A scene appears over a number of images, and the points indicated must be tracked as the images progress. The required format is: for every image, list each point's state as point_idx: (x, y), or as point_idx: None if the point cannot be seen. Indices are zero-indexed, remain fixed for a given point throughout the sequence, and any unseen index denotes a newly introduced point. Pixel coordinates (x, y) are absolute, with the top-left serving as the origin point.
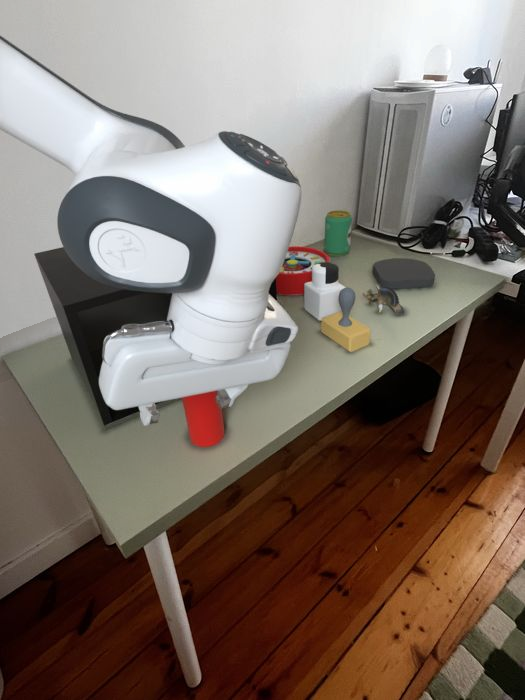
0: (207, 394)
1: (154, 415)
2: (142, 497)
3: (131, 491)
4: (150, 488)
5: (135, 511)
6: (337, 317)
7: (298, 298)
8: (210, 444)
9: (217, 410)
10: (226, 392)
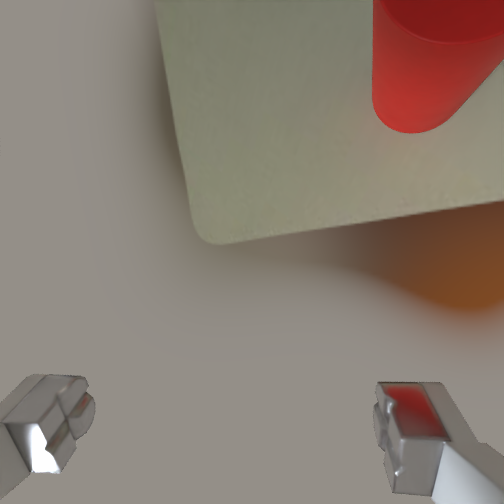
0: (453, 73)
1: (40, 471)
2: (239, 188)
3: (228, 166)
4: (256, 177)
5: (223, 209)
6: None
7: None
8: (404, 131)
9: (466, 94)
10: (438, 464)
